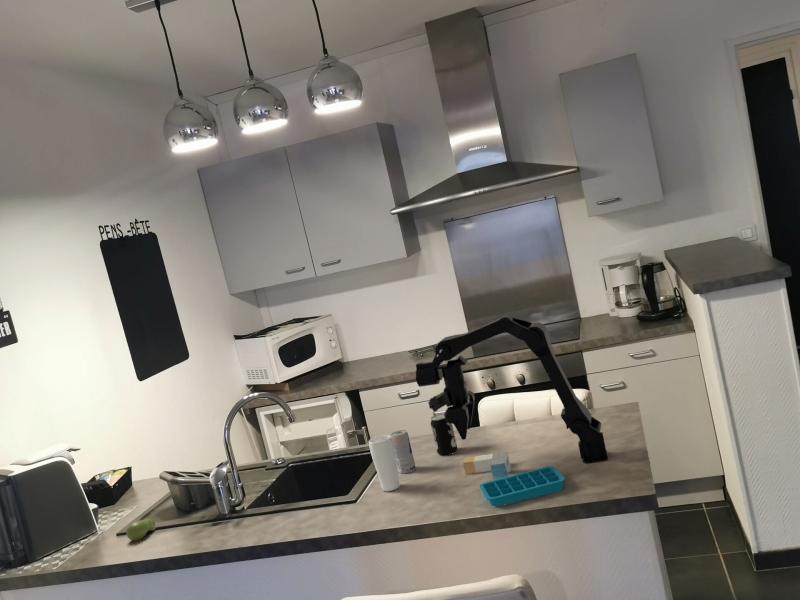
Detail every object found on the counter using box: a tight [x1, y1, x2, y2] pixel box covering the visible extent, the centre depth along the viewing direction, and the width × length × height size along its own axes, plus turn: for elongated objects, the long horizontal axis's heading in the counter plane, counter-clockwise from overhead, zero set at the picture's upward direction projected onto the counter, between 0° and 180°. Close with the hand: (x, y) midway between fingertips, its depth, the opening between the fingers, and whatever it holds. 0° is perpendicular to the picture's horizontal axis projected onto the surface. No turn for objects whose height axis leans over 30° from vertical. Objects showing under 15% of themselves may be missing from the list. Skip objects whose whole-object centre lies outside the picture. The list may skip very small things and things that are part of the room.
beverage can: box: [430, 413, 458, 457], centre depth 224 cm, size 7×7×12 cm
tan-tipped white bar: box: [462, 453, 493, 475], centre depth 202 cm, size 10×4×4 cm, turn 77°
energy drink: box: [390, 429, 416, 475], centre depth 216 cm, size 5×5×12 cm
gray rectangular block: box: [490, 450, 512, 481], centre depth 193 cm, size 4×9×6 cm, turn 167°
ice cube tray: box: [478, 465, 566, 507], centre depth 180 cm, size 12×20×3 cm, turn 95°
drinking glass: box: [368, 434, 401, 492], centre depth 203 cm, size 7×7×15 cm
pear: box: [125, 518, 156, 542], centre depth 212 cm, size 6×5×10 cm
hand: (466, 434), depth 202 cm, fingers open, 9 cm apart
